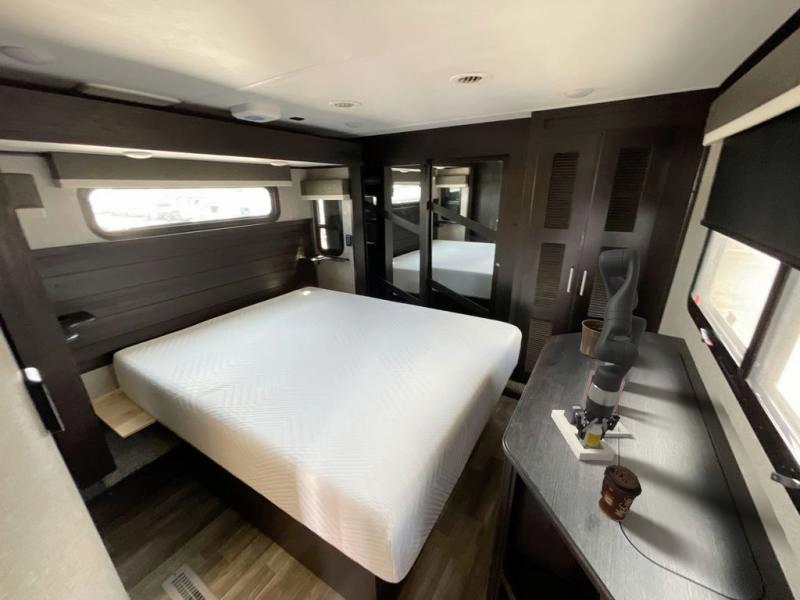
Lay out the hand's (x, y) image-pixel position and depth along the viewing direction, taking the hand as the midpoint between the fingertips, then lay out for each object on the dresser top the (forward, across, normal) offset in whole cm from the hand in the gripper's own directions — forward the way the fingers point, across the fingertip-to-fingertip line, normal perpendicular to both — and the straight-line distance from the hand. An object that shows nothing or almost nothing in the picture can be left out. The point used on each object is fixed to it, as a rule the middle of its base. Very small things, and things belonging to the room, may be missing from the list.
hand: (589, 437), depth 102 cm
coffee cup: (+4, +5, +21) cm, 22 cm away
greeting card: (+5, -18, -23) cm, 29 cm away
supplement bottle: (+3, 0, 0) cm, 3 cm away
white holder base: (+4, 0, -5) cm, 7 cm away
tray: (+4, -12, -11) cm, 17 cm away
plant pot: (+5, -38, -63) cm, 74 cm away
